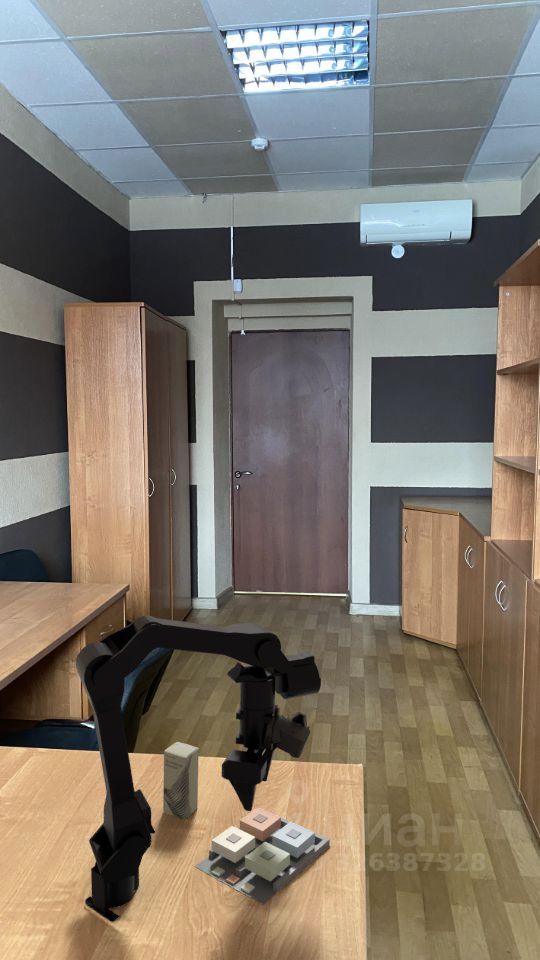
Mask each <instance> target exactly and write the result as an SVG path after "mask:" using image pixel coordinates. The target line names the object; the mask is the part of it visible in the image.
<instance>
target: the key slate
mask: <svg viewBox="0 0 540 960" xmlns="http://www.w3.org/2000/svg"><path fill="white" fill-rule="evenodd" d="M315 833H316V832H315V831H312V830H310V829H308V828H306V827H303V826H301V825H299V824H297V823H294V822H292V821H290V822H289V823H288V824H287V825H285V826H284V827H283V828H282V829H280V830H279V831H278V832H277V833H275V834H274V835H273V836H272V845H273V846H275V847H277V848H279V849H281V850H283V851H285V852H287V853H289V854H290V855H292V856H294V857H296V858H298V857H299V856H300V855H301V854H303V853H304V852H305V851H306V850H307V849H308V848H309V847H311V846H312V845H313V844H314V843H315Z"/></svg>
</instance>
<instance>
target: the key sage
mask: <svg viewBox="0 0 540 960" xmlns="http://www.w3.org/2000/svg"><path fill="white" fill-rule="evenodd" d="M289 865H290V854H289V853H287V852H285V851H283V850H281V849H279V848H277V847H275V846H273V845H271V844H269V843H267V842H264V843H263V844H261V845H260V846H259V847H258V848H256V849H255V850H254V851H252V852H251V853H250V854H249V855H247V856H246V857H245V868H246V869H248V870H250V871H251V872H253V873H255V874H257V875H259V876H261V877H263V878H265V879H267V880H269V881H272V880H273V879H274V878H275V877H276V876H277V875H279V874H280V873H281V872H282V871H283V870H284V869H285V868H287V867H288V866H289Z"/></svg>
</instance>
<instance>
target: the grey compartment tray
mask: <svg viewBox="0 0 540 960" xmlns="http://www.w3.org/2000/svg"><path fill="white" fill-rule="evenodd" d="M289 822H291V821H290V820H288V819H285V818H284V817H281V828H279V829H278V830H277V831H275V832H274V833H273V834H272V835H270V836H269V837H268V838H267V839H265V840H264V841H261V840H259V839H257V838H255V848H254V849H253V850H251V851H250V852H249V853H247V854H246V855H245V856H244V857H242V858H241V859H240V860H239V861H237V862H236V863H234V862H232V861H231V860H229V859H227V858H225V857H223V856H221V855H219V854H217V853H215V852H213V851H212V847H211V848H210V849H208V856H207V857H205V858H204V859H203V860H201V861H200V862H199V863H197V864H196V865H195V866H194V868H195V869H198V870H199V871H201V872H203V873H205V874H207V875H208V876H210V877H212V878H214V879H216V880H218V881H220V882H221V883H223V884H225V885H227V886H229V887H230V888H232V889H234V890H236V891H237V892H239V893H241V894H243V895H245V896H246V897H248V898H250V899H251V900H253V901H255V902H257V903H259V904H261V905H262V906H264V905H265V904H266V903H268V901H270V899H272V898H273V897H274V896H275V895H276V894H277V893H278V892H280V891H281V890H282V889H283V888H284V887H285V886H286V885H287V884H288V883H289V882H290V881H291V880H293V878H295V877H296V876H297V875H298V874H300V872H302V871H303V870H304V869H305V868H306V867H307V866H308V865H309V864H310V863H311V862H313V861H314V860H315V859H316V858H317V857H318V856H319V855H320V854H322V853H323V852H324V851H326V849H327V848H328V847H330V844H331V843H330V841H331V840H330V838H328V837H326V836H324V835H322V834H319V833H317V832H315V843H314V844H313V845H312V846H311V847H309V848H308V849H307V850H306V851H305V852H304V853H303V854H301V855H300V856H299V857H298V858H296V857H294V856H292V855H290V865H289V866H288V867H287V868H285V869H284V870H283V871H282V872H281V873H280V874H279V875H277V876H276V877H275V878H274V879H273V880H272V881H269V880H267V879H265V878H263V877H261V876H259V875H257V874H255V873H253V872H251V871H250V870H248V869H246V868H245V857H246V856H247V855H249V854H250V853H251V852H252V851H254V850H255V849H256V848H258V847H259V846H260V845H261V844H263V843H264V842H267V843H269V844H271V845H272V836H273V835H274V834H275V833H277V832H278V831H279V830H280V829H282V828H283V827H284V826H285V825H287V824H288V823H289ZM238 829H240V827H239V828H238Z"/></svg>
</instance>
